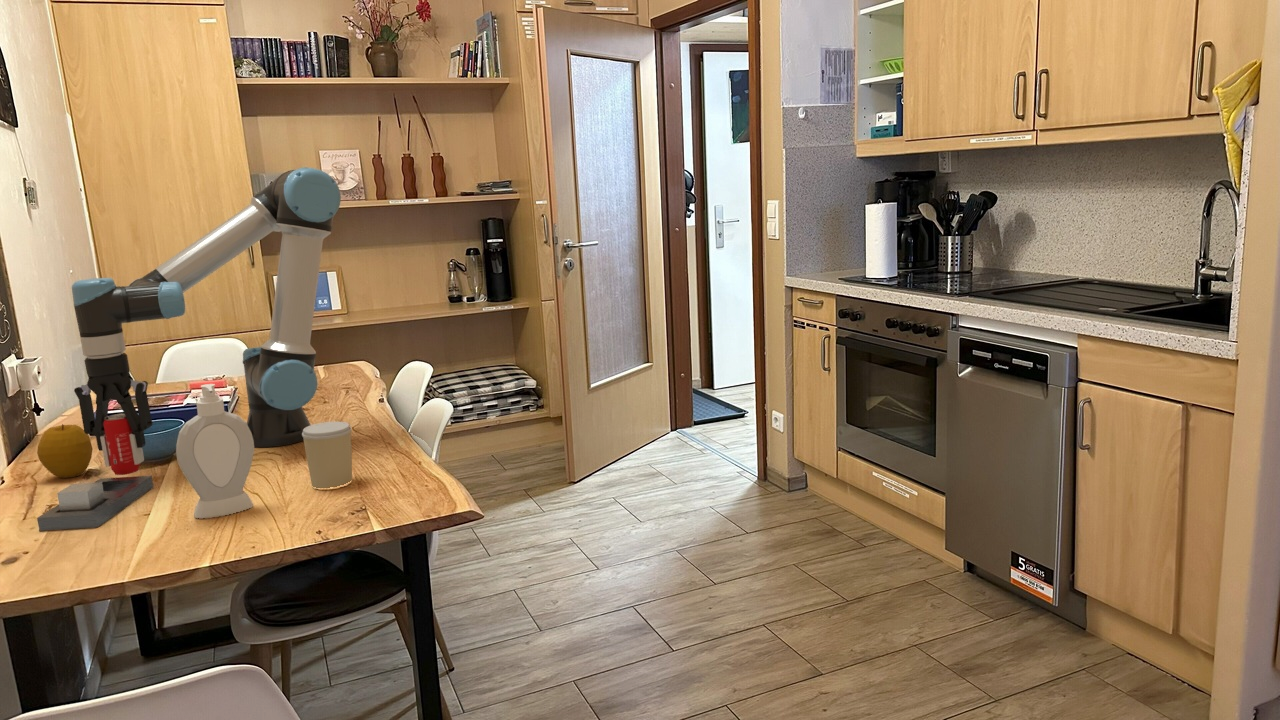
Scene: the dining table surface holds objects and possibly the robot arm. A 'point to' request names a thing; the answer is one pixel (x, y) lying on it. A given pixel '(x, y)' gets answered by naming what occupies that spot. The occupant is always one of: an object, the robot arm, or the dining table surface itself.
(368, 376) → the dining table surface
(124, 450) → the beverage can
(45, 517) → the grey flat frame
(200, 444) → the soap bottle
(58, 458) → the apple
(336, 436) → the coffee cup
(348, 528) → the dining table surface
